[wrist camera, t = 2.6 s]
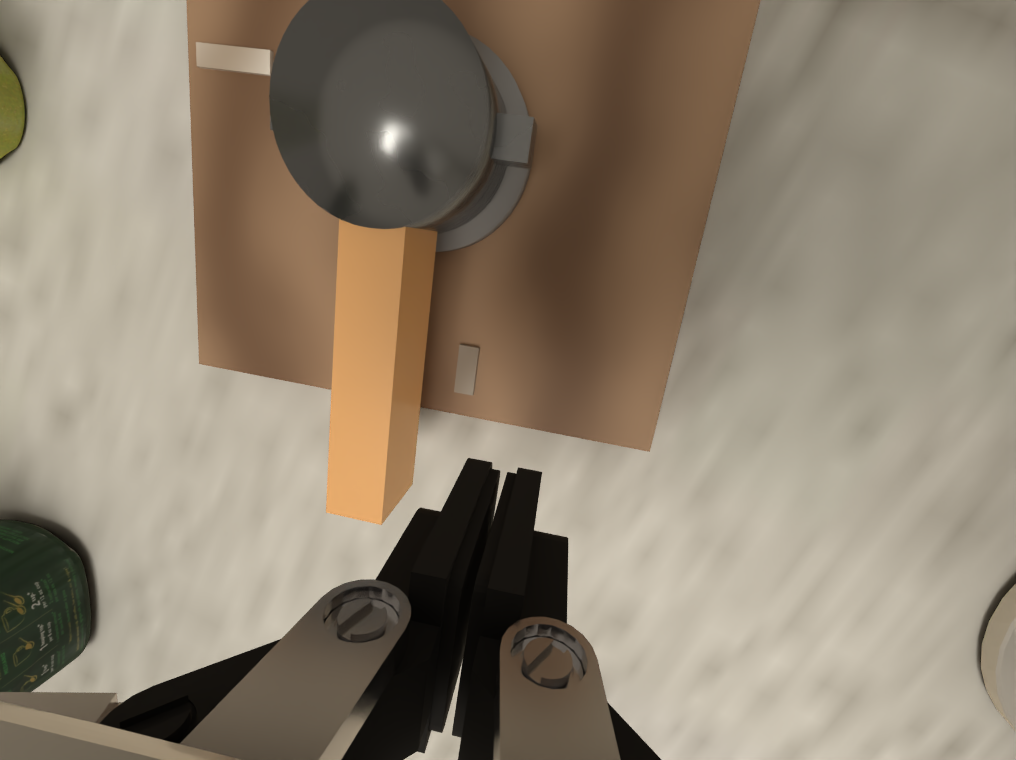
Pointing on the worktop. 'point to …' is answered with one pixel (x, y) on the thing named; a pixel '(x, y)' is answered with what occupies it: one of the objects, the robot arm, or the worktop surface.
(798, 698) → the worktop surface
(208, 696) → the robot arm
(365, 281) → the portafilter
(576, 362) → the wooden cutting board
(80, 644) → the coffee jar
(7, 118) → the plant pot
